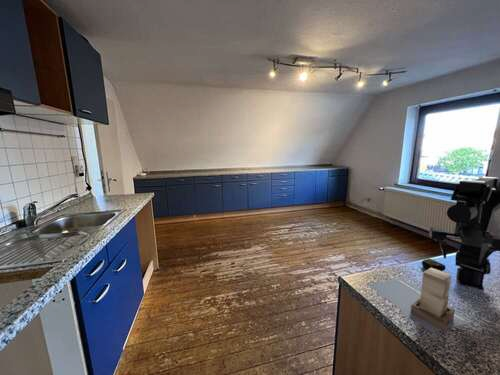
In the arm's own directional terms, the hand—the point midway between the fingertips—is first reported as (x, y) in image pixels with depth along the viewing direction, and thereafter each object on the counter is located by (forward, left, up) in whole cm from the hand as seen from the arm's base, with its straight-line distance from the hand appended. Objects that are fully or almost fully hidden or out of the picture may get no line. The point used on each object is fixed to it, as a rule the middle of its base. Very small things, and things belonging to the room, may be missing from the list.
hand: (462, 261), depth 77 cm
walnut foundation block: (+10, +19, -12) cm, 24 cm away
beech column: (+10, +19, -10) cm, 23 cm away
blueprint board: (+14, +13, -13) cm, 23 cm away
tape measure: (+5, -18, -13) cm, 23 cm away
